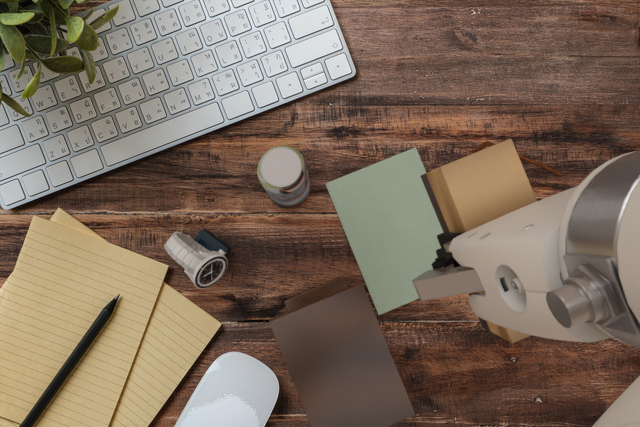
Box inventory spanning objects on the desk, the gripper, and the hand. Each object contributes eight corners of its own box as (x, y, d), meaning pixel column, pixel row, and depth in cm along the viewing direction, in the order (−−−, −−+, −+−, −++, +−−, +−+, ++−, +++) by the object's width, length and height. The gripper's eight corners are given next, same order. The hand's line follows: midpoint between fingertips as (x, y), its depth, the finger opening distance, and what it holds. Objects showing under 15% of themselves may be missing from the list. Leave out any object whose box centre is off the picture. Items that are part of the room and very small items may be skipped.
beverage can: (284, 217, 67) (280, 215, 55) (253, 175, 68) (243, 163, 56) (320, 191, 68) (324, 183, 56) (289, 149, 68) (287, 132, 56)
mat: (468, 277, 68) (469, 277, 68) (378, 314, 68) (378, 315, 67) (415, 147, 69) (416, 147, 68) (325, 183, 68) (325, 183, 68)
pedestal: (381, 360, 67) (415, 414, 47) (315, 388, 67) (322, 455, 47) (343, 267, 68) (362, 283, 48) (277, 294, 67) (268, 322, 47)
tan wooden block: (544, 301, 35) (584, 313, 30) (482, 327, 35) (512, 344, 30) (481, 150, 35) (511, 137, 30) (420, 175, 35) (439, 166, 30)
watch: (217, 287, 67) (201, 299, 56) (171, 252, 67) (146, 256, 56) (242, 256, 67) (231, 261, 56) (197, 220, 67) (177, 218, 56)
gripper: (503, 448, 16) (396, 332, 34) (938, 257, 17) (609, 242, 35) (419, 243, 16) (356, 235, 34) (855, 62, 17) (570, 147, 35)
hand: (485, 238), depth 35 cm, fingers closed on tan wooden block, 5 cm apart
